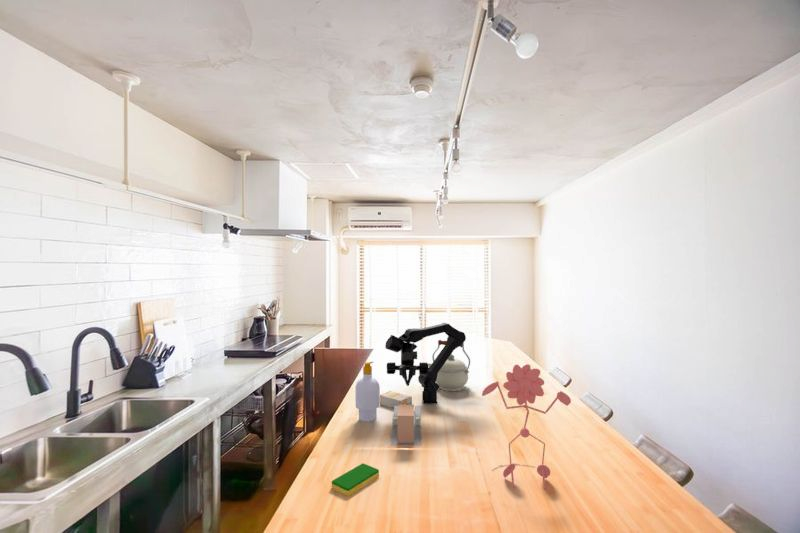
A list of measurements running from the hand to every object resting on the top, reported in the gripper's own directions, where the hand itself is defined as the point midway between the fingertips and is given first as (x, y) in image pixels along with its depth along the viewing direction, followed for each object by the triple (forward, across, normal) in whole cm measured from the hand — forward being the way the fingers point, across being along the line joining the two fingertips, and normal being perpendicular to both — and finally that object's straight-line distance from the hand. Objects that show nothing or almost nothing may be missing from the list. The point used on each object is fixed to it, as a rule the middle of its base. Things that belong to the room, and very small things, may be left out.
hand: (407, 385), depth 175 cm
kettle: (-20, +23, +39) cm, 49 cm away
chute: (+18, -1, 0) cm, 18 cm away
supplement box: (-4, -10, +20) cm, 23 cm away
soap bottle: (+12, -17, +7) cm, 22 cm away
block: (+25, -1, -7) cm, 26 cm away
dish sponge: (+48, -17, -28) cm, 58 cm away
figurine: (+45, +35, -27) cm, 63 cm away
